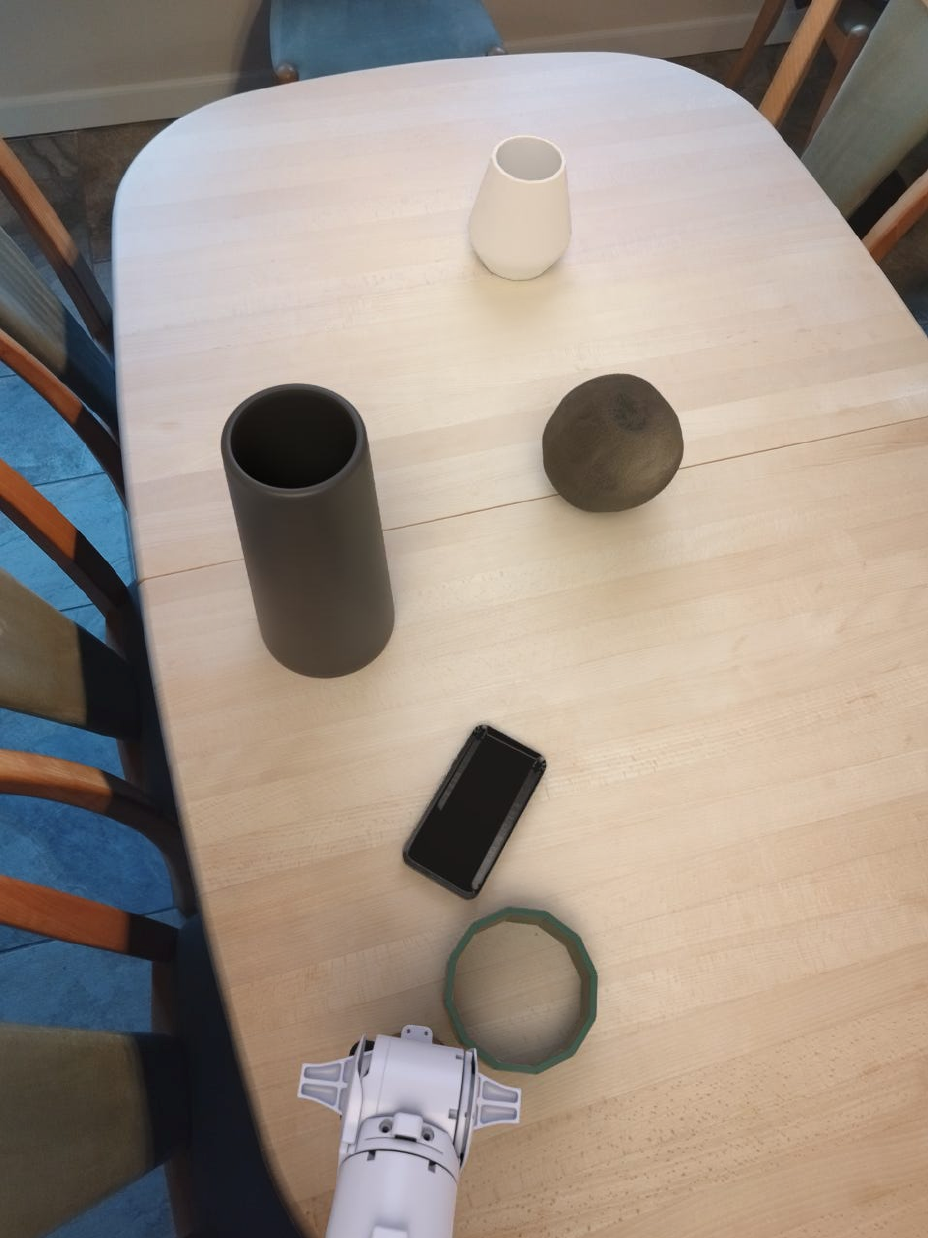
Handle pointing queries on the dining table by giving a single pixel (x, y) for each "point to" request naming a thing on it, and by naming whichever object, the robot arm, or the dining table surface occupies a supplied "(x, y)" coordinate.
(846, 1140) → the dining table surface
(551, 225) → the cup
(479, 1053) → the green polygonal ring
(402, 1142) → the robot arm
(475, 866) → the phone
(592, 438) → the dark brown round lump
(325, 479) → the vase
